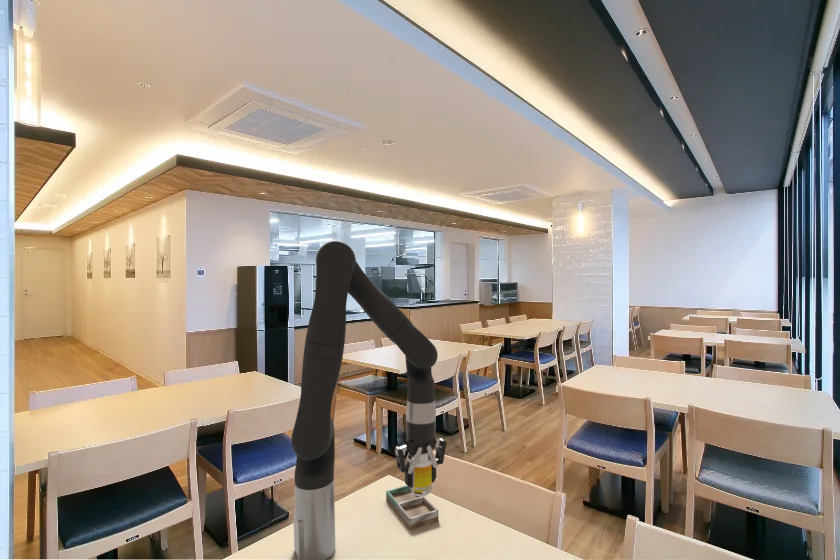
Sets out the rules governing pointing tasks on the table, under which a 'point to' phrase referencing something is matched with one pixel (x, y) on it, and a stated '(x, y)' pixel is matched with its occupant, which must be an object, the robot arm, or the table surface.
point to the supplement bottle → (422, 476)
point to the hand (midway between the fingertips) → (420, 483)
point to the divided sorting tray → (411, 507)
